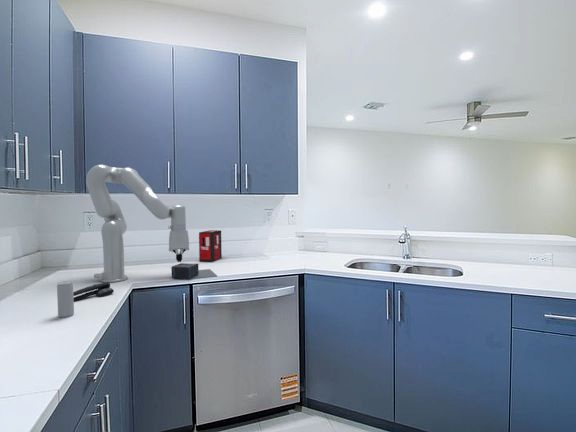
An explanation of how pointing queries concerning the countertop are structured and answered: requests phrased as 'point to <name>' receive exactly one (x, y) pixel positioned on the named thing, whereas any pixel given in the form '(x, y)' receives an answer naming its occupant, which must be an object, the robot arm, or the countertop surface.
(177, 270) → the small box
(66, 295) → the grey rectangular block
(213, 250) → the cleaning product box
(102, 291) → the can opener
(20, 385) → the countertop surface
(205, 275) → the mat
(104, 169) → the robot arm
